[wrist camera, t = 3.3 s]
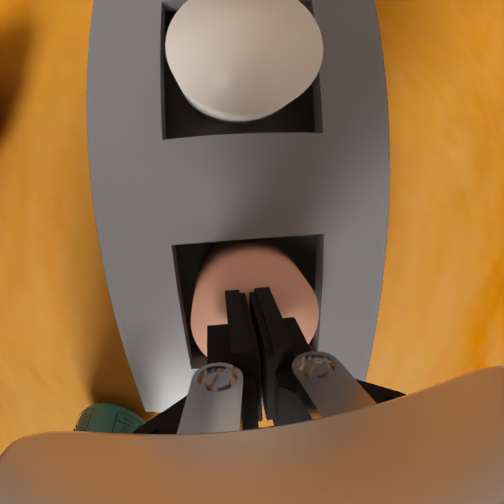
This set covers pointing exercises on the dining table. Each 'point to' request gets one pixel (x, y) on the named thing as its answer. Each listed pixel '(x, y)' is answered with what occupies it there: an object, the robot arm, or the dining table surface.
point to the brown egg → (250, 285)
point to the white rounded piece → (243, 56)
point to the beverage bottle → (108, 419)
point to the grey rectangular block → (235, 186)
